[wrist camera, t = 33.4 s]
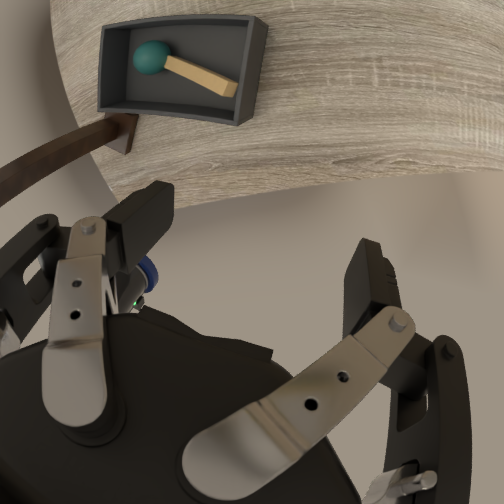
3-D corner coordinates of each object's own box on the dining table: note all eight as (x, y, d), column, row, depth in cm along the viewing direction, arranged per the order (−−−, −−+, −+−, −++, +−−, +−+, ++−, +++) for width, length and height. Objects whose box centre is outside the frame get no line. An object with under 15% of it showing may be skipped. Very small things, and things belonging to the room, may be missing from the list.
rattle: (227, 110, 29) (192, 109, 25) (152, 70, 33) (122, 69, 29) (245, 70, 25) (211, 62, 22) (163, 39, 30) (133, 35, 26)
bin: (252, 117, 34) (237, 126, 29) (125, 103, 37) (97, 112, 32) (268, 25, 26) (255, 15, 21) (130, 27, 29) (101, 25, 24)
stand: (130, 152, 42) (-30, 268, 17) (101, 138, 42) (-52, 238, 17) (138, 114, 38) (-49, 217, 13) (108, 102, 37) (-67, 189, 12)
